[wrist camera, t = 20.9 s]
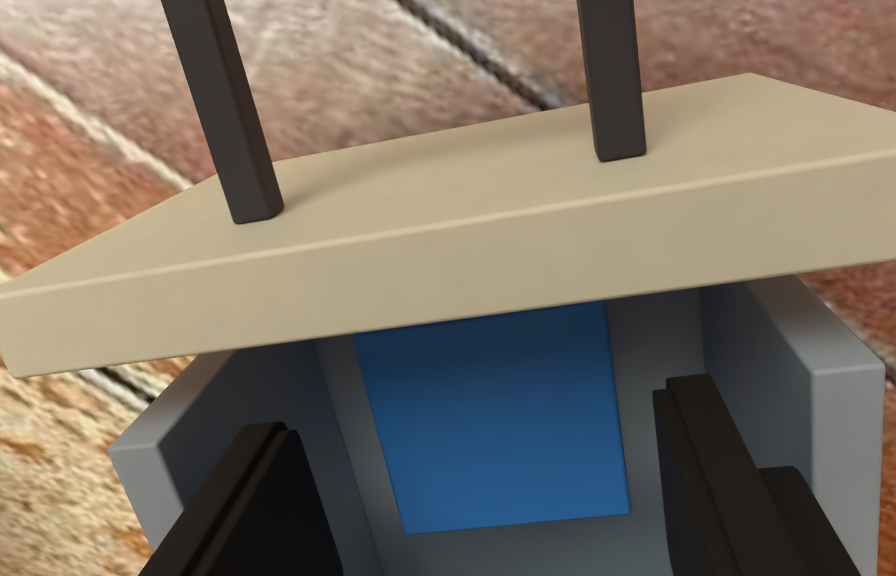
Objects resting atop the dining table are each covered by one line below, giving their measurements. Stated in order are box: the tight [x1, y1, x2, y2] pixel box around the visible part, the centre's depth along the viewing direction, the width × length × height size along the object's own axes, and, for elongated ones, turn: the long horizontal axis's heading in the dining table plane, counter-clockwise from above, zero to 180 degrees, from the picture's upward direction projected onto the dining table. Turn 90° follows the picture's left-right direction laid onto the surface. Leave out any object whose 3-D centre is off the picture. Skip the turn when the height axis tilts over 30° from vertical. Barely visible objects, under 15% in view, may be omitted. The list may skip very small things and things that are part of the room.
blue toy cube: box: [352, 300, 631, 535], centre depth 13 cm, size 4×4×4 cm
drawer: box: [0, 0, 896, 576], centre depth 12 cm, size 19×11×7 cm, turn 11°
